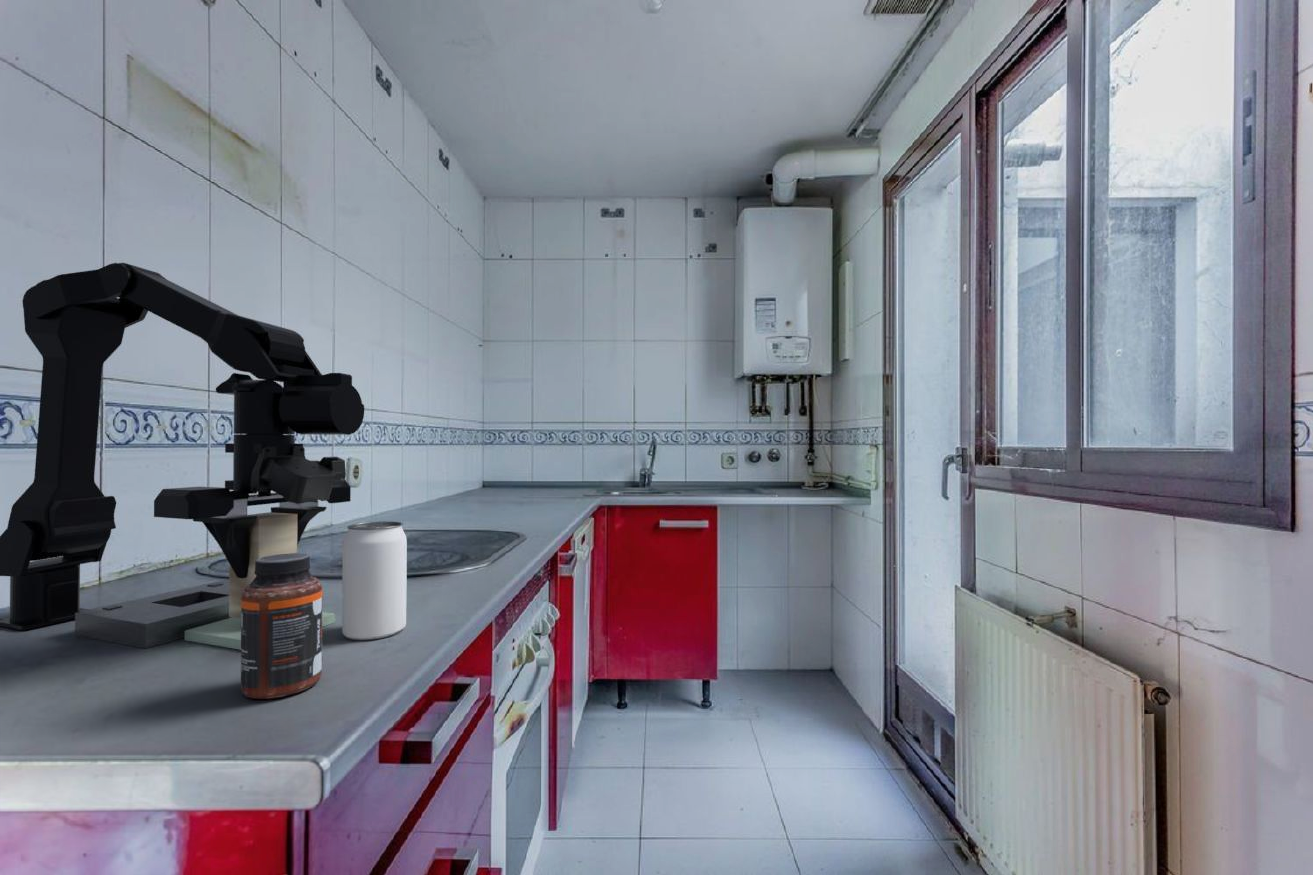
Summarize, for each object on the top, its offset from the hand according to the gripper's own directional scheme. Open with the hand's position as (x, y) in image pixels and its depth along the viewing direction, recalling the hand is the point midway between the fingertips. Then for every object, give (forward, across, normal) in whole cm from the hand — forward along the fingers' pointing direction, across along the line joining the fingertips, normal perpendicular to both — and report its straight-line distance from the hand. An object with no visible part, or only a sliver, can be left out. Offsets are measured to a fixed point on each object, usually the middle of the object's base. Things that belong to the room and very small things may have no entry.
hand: (263, 573), depth 65 cm
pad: (+6, 0, 0) cm, 7 cm away
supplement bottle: (+7, -10, -16) cm, 20 cm away
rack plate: (+6, 0, +12) cm, 14 cm away
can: (+7, +4, -12) cm, 14 cm away
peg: (+4, 0, 0) cm, 4 cm away
